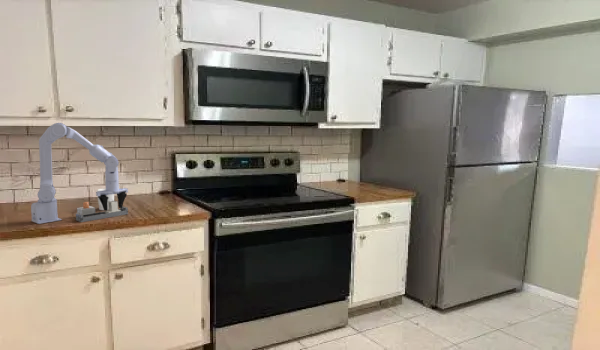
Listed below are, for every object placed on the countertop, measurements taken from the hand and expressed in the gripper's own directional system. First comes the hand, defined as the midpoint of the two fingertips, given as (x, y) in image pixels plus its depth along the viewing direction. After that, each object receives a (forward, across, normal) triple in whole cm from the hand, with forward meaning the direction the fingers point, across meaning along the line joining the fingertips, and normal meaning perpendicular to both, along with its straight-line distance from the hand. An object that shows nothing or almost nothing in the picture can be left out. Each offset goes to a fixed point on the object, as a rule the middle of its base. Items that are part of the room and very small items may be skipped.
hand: (113, 209), depth 192 cm
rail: (+3, -5, 0) cm, 6 cm away
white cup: (+3, +5, +16) cm, 17 cm away
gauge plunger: (+1, -9, +8) cm, 12 cm away
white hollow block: (+3, -9, +8) cm, 12 cm away
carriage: (+2, 0, 0) cm, 2 cm away
